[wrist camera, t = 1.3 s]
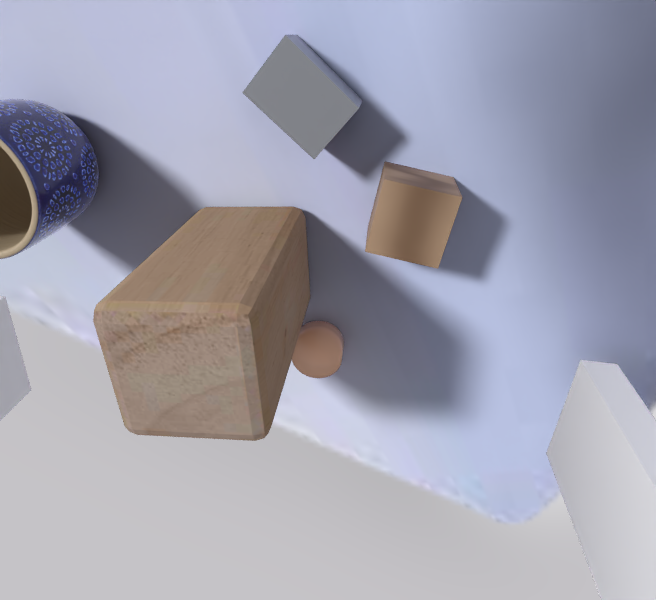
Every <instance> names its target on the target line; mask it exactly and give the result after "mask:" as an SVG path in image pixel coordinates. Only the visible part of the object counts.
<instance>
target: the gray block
mask: <svg viewBox="0 0 656 600" xmlns="http://www.w3.org/2000/svg"><path fill="white" fill-rule="evenodd" d="M243 94H244V95H245V96H246V97H248V98H249V99H250V100H251V101H252V102H253V103H254V104H255V105H256V106H257V107H258V108H259V109H260V110H262V111H263V112H264V113H265V114H266V115H267V116H268V117H269V118H270V119H271V120H272V121H273V122H274V123H275V124H277V125H278V126H279V127H280V128H281V129H282V130H283V131H284V132H285V133H286V134H287V135H288V136H289V137H291V138H292V139H293V140H294V141H295V142H296V143H297V144H298V145H299V146H300V147H301V148H302V149H303V150H304V151H306V152H307V153H308V154H309V155H310V156H311V157H312V158H313V159H315V158H316V157H317V156H318V154H319V153H320V152H321V151H322V150H323V149H324V148H325V146H326V145H327V144H328V143H329V142H330V141H331V140H332V139H333V137H334V136H335V135H336V134H337V133H338V132H339V131H340V129H341V128H342V127H343V126H344V125H345V124H346V123H347V121H348V120H349V119H350V118H351V117H352V116H353V115H354V114H355V112H356V111H357V110H358V109H359V108H360V105H361V103H362V99H361V98H360V97H359V96H358V95H357V94H356V93H355V92H354V91H353V90H352V89H351V88H350V87H349V86H348V85H347V84H346V83H345V82H344V81H343V80H342V79H341V78H340V77H339V76H338V75H337V74H336V73H335V72H334V71H333V70H332V69H331V68H330V67H329V66H328V65H327V64H326V63H325V62H324V61H323V60H322V59H321V58H320V57H319V56H318V55H317V54H316V53H315V52H314V51H313V50H312V49H311V48H310V47H309V46H308V45H307V44H306V43H305V42H304V41H303V40H302V39H301V38H300V37H299V36H298V35H285V36H284V38H283V39H282V40H281V42H280V43H279V44H278V46H277V47H276V48H275V50H274V51H273V52H272V54H271V55H270V56H269V58H268V59H267V60H266V62H265V63H264V64H263V66H262V67H261V68H260V70H259V71H258V72H257V74H256V75H255V77H254V78H253V79H252V81H251V82H250V83H249V85H248V86H247V87H246V89H245V90H244V91H243Z"/></svg>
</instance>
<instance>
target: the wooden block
mask: <svg viewBox="0 0 656 600" xmlns="http://www.w3.org/2000/svg"><path fill="white" fill-rule="evenodd" d="M309 300H310V283H309V267H308V251H307V235H306V219H305V216H304V214H303V212H302V210H301V209H299V208H296V207H205V208H203V209H201V210H199V211H198V212H197V213H196V214H195V215H194V216H192V217H191V218H190V219H189V220H188V221H187V222H186V223H185V224H184V225H183V226H182V227H180V228H179V229H178V230H177V231H176V232H175V233H174V234H173V235H172V236H171V237H170V238H168V239H167V240H166V241H165V242H164V243H163V244H162V245H161V246H160V247H159V248H158V249H157V250H155V251H154V252H153V253H152V254H151V255H150V256H149V257H148V258H147V259H146V260H145V261H143V262H142V263H141V264H140V265H139V266H138V267H137V268H136V269H135V270H134V271H133V272H132V273H130V274H129V275H128V276H127V277H126V278H125V279H124V280H123V281H122V282H121V283H120V284H118V285H117V286H116V287H115V288H114V289H113V290H112V291H111V292H110V293H109V294H108V295H106V296H105V297H104V298H103V299H102V300H101V301H100V302H99V303H98V304H97V305H96V307H95V310H94V319H93V322H94V325H95V328H96V332H97V335H98V338H99V342H100V345H101V348H102V352H103V355H104V358H105V362H106V365H107V368H108V372H109V375H110V378H111V382H112V385H113V388H114V392H115V395H116V398H117V402H118V405H119V409H120V412H121V415H122V418H123V422H124V425H125V427H126V428H127V429H128V430H129V431H130V432H132V433H135V434H137V435H154V436H174V437H192V438H213V439H232V440H252V441H253V440H254V441H255V440H259V439H262V438H265V436H266V435H267V434H268V432H269V430H270V428H271V425H272V422H273V419H274V415H275V412H276V409H277V406H278V402H279V399H280V396H281V392H282V389H283V386H284V383H285V379H286V376H287V373H288V369H289V366H290V363H291V359H292V356H293V353H294V350H295V346H296V343H297V340H298V336H299V333H300V330H301V326H302V323H303V320H304V317H305V313H306V310H307V307H308V303H309Z"/></svg>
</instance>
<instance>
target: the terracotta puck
mask: <svg viewBox="0 0 656 600" xmlns="http://www.w3.org/2000/svg"><path fill="white" fill-rule="evenodd" d="M343 347H344V338H343V335H342V333H341V332H340V330H339V329H338V328H337V327H335V326H334V325H332V324H330V323H328V322H325V321H312V322H309V323H306V324H305V325H303V326H302V327H301V330H300V333H299V336H298V340H297V343H296V346H295V350H294V353H293V356H292V362H293V364H294V366H295V367H296V368H297V369H298V370H299V371H300V372H301V373H303V374H304V375H306V376H309V377H313V378H324V377H328V376H330V375H332V374H334V373H335V372H336V371H337V370H338V369H339V367H340V365H341V361H342V354H343Z"/></svg>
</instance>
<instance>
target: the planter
mask: <svg viewBox="0 0 656 600" xmlns="http://www.w3.org/2000/svg"><path fill="white" fill-rule="evenodd" d="M98 180H99V168H98V162H97V158H96V155H95V152H94V149H93V147H92V145H91V143H90V141H89V140H88V138H87V137H86V135H85V134H84V132H83V131H82V130H81V129H80V128H79V127H78V126H77V125H76V124H75V123H74V122H73V121H72V120H71V119H70V118H69V117H67V116H66V115H64V114H63V113H61V112H60V111H58V110H56V109H54V108H52V107H50V106H48V105H46V104H43V103H39V102H35V101H30V100H23V99H5V100H0V259H3V258H8V257H11V256H14V255H16V254H18V253H20V252H22V251H24V250H26V249H28V248H30V247H32V246H33V245H35V244H37V243H39V242H40V241H42V240H44V239H46V238H47V237H49V236H50V235H52V234H54V233H55V232H57V231H58V230H60V229H61V228H63V227H65V226H66V225H67V224H69V223H70V222H71V221H73V220H74V219H75V218H77V217H78V216H79V215H80V214H81V213H82V212H83V211H84V210H85V209H86V208H87V207H88V206H89V204H90V203H91V201H92V200H93V198H94V196H95V193H96V190H97V186H98Z"/></svg>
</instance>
